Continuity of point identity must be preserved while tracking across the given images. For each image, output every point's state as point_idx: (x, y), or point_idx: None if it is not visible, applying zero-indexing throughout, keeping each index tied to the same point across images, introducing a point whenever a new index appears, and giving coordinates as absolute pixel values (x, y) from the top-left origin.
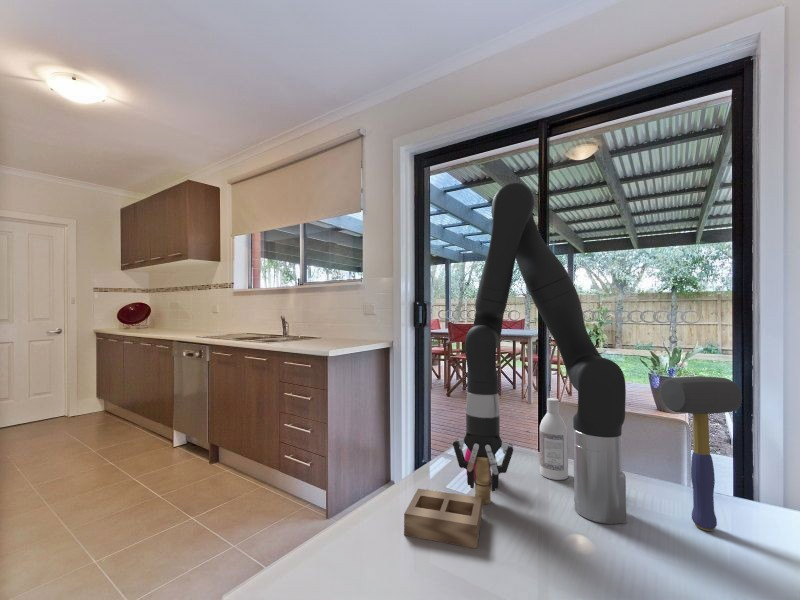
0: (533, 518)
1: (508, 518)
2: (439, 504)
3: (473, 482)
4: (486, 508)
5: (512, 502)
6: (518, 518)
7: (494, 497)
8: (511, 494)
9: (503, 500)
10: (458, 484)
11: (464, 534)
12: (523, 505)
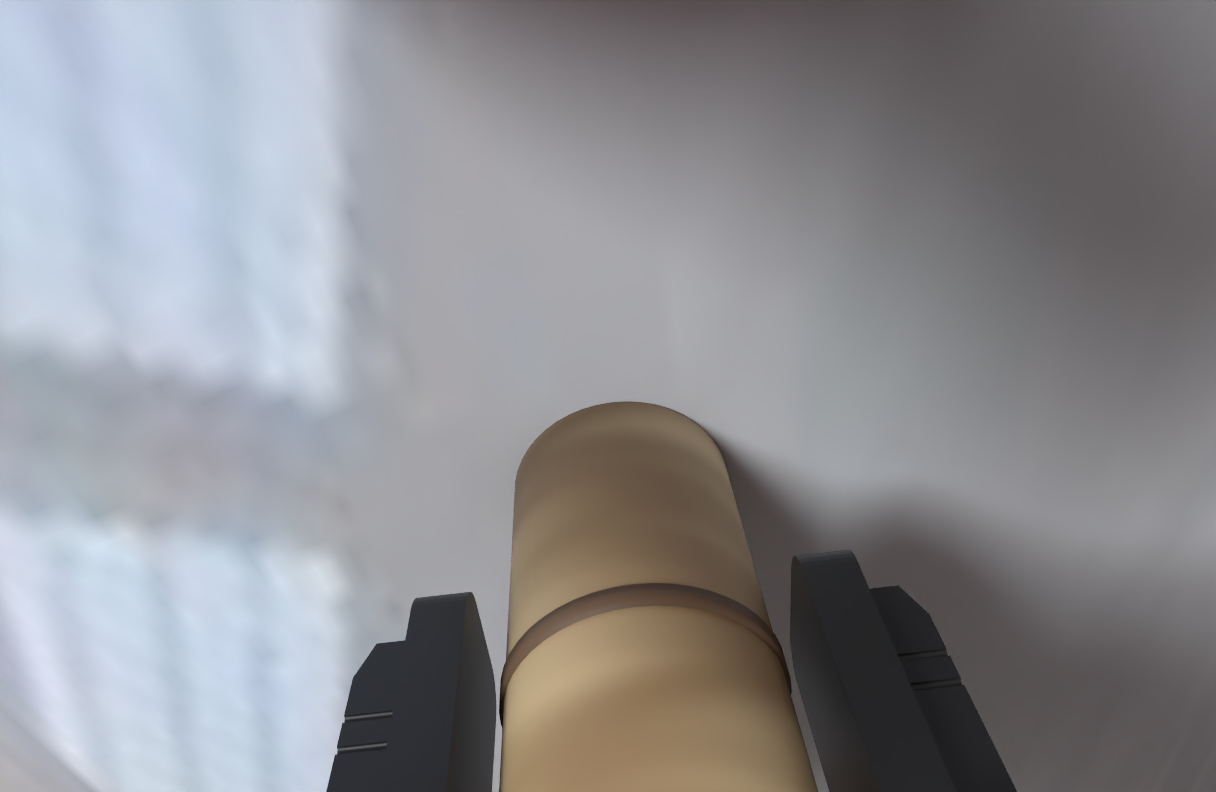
0: (1205, 614)
1: None
2: None
3: (484, 735)
4: None
5: (1035, 379)
6: (1038, 667)
7: (775, 341)
8: (1069, 119)
9: (909, 375)
10: (38, 117)
11: None
12: (1177, 398)
